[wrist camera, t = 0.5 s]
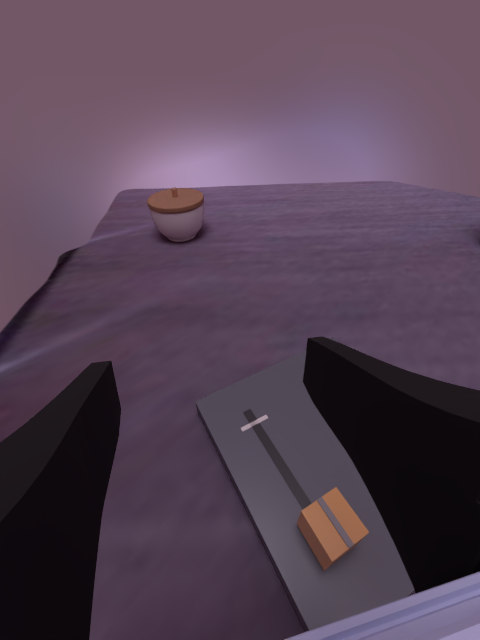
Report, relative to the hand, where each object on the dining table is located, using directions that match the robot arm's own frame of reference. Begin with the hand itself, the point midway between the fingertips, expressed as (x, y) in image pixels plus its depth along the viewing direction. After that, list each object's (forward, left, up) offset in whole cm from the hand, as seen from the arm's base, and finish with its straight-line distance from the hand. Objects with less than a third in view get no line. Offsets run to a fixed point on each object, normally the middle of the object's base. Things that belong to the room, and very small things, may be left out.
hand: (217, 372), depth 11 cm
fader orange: (-4, -5, -17) cm, 18 cm away
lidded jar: (+51, -14, -20) cm, 56 cm away
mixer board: (+1, -10, -19) cm, 22 cm away
